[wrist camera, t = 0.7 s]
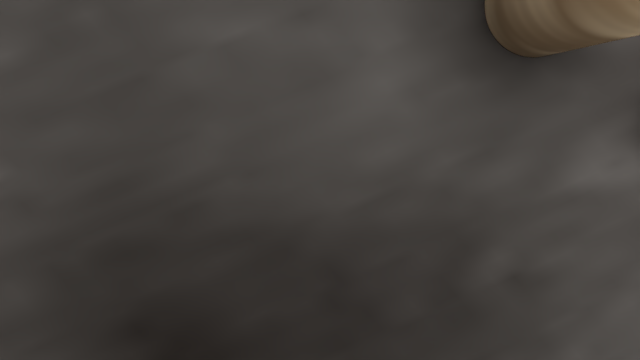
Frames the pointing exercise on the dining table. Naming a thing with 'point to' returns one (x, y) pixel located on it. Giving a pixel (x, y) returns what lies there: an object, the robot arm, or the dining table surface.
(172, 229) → the dining table surface
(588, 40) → the birch dowel
